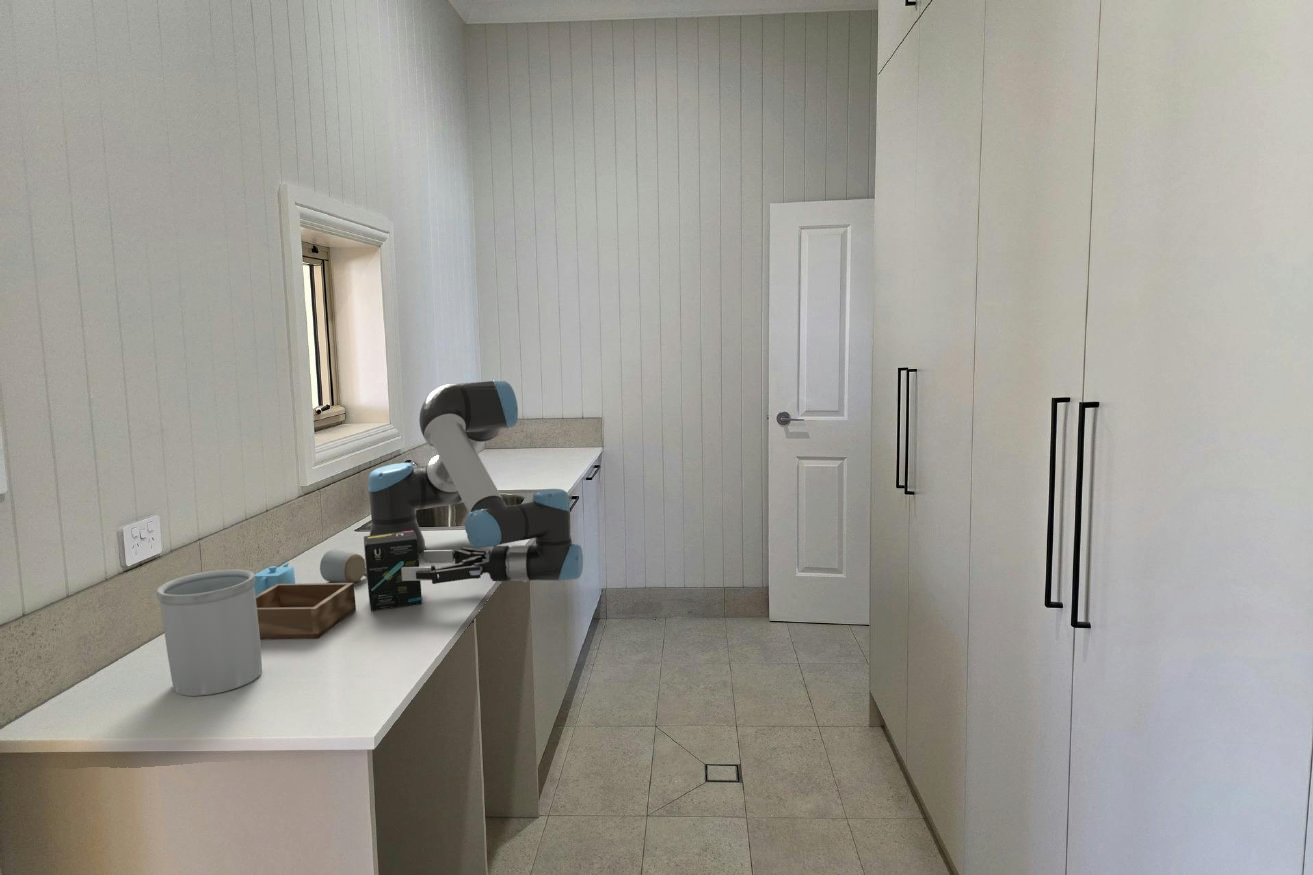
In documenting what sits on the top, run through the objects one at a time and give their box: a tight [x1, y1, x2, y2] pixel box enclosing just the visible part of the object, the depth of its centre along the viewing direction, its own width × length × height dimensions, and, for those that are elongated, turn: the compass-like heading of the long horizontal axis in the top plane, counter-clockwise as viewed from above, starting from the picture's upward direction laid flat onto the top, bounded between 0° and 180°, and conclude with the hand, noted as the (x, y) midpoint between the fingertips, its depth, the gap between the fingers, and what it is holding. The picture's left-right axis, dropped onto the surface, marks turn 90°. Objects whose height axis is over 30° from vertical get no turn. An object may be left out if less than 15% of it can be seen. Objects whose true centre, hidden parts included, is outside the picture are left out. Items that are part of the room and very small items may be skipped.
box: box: [255, 582, 357, 640], centre depth 174 cm, size 17×17×6 cm
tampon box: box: [363, 530, 423, 612], centre depth 186 cm, size 11×9×15 cm
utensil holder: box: [156, 568, 263, 697], centre depth 145 cm, size 15×15×18 cm
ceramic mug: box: [319, 548, 367, 584], centre depth 205 cm, size 11×8×8 cm
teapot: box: [254, 562, 296, 596], centre depth 192 cm, size 12×6×8 cm, turn 176°
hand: (413, 564), depth 185 cm, fingers open, 13 cm apart
